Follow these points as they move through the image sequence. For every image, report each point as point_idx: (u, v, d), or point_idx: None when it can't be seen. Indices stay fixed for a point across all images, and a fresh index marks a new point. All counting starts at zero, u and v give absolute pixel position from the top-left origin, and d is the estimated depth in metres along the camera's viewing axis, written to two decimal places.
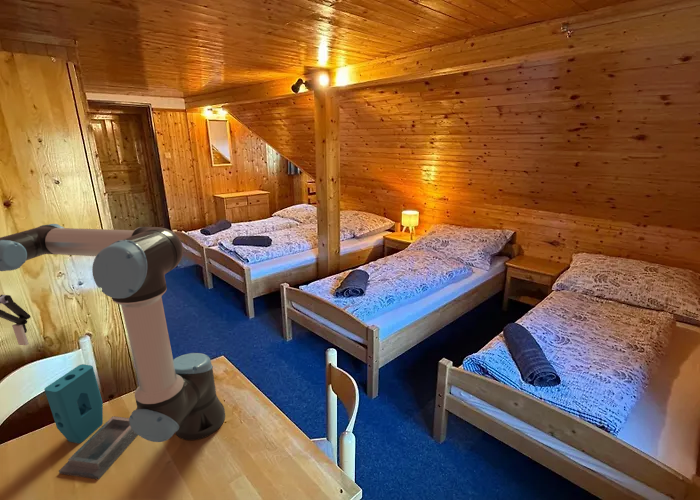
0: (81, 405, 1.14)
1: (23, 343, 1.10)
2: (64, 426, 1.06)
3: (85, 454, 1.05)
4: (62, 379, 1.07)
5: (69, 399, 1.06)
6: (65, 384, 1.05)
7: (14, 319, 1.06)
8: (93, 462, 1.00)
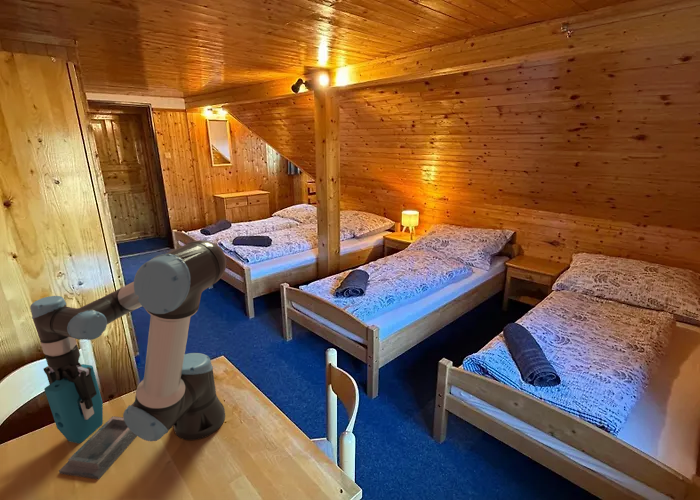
0: None
1: None
2: (64, 426, 1.06)
3: (85, 454, 1.05)
4: (62, 379, 1.07)
5: (69, 399, 1.06)
6: (65, 384, 1.05)
7: (78, 392, 1.08)
8: (93, 462, 1.00)
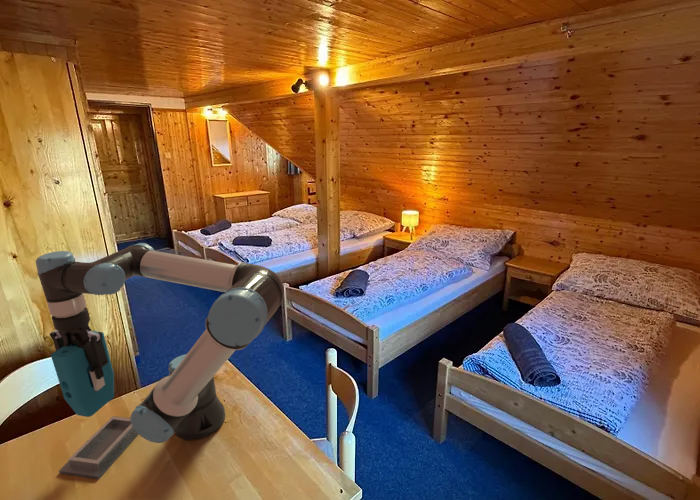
0: (90, 376, 1.04)
1: None
2: (72, 397, 0.96)
3: (85, 454, 1.05)
4: (70, 345, 0.97)
5: (78, 367, 0.96)
6: (74, 350, 0.95)
7: (88, 360, 0.98)
8: (93, 462, 1.00)
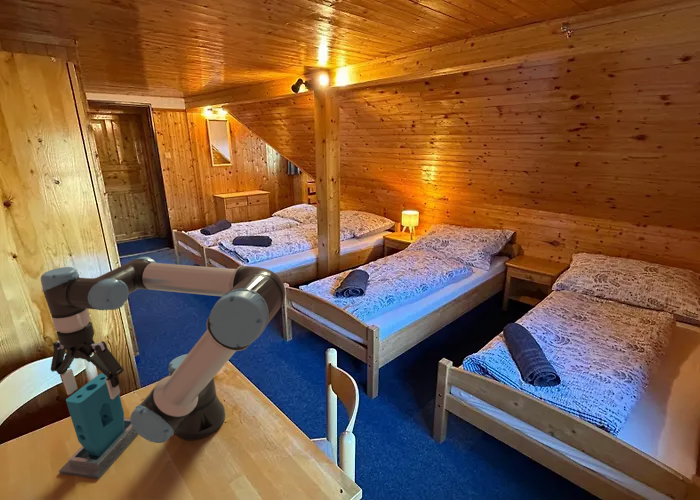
0: (102, 416, 1.08)
1: None
2: (86, 439, 1.00)
3: (85, 454, 1.05)
4: (84, 389, 1.01)
5: (92, 410, 1.00)
6: (88, 395, 0.99)
7: (101, 370, 0.98)
8: (93, 462, 1.00)
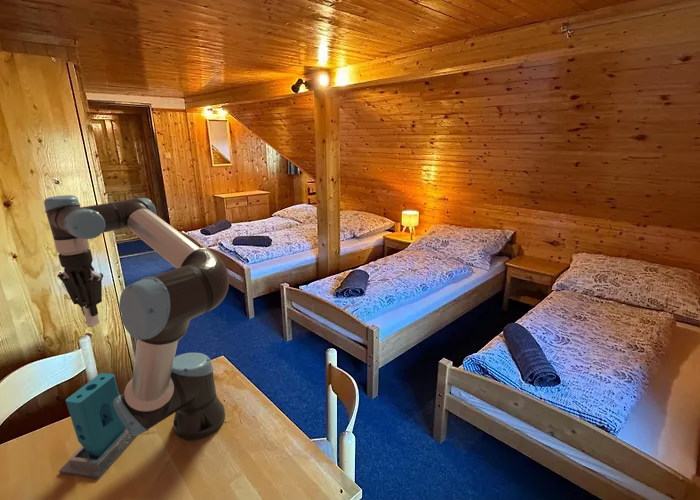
0: (102, 416, 1.08)
1: None
2: (86, 439, 1.00)
3: (85, 454, 1.05)
4: (83, 389, 1.01)
5: (91, 410, 1.00)
6: (87, 394, 0.99)
7: (85, 297, 1.08)
8: (93, 462, 1.00)
